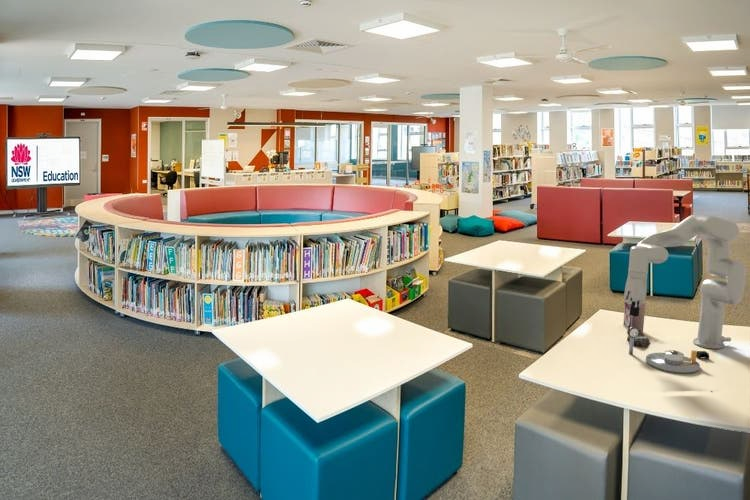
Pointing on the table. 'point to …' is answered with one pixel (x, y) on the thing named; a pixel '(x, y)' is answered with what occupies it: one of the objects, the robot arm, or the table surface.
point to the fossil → (640, 340)
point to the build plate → (702, 354)
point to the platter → (686, 368)
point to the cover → (673, 357)
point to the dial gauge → (633, 337)
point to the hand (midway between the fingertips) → (634, 315)
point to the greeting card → (634, 317)
